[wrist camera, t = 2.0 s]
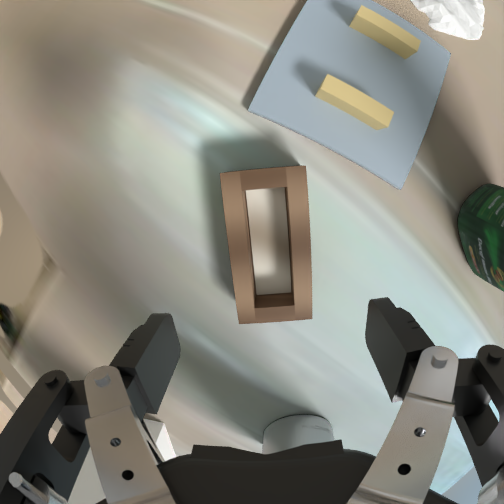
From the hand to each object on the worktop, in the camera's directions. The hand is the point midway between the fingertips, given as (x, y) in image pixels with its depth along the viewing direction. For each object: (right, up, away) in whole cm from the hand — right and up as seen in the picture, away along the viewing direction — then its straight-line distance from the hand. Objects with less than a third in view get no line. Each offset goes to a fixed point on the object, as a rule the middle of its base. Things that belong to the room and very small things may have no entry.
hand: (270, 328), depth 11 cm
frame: (+1, +4, +13) cm, 13 cm away
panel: (+9, +18, +8) cm, 22 cm away
